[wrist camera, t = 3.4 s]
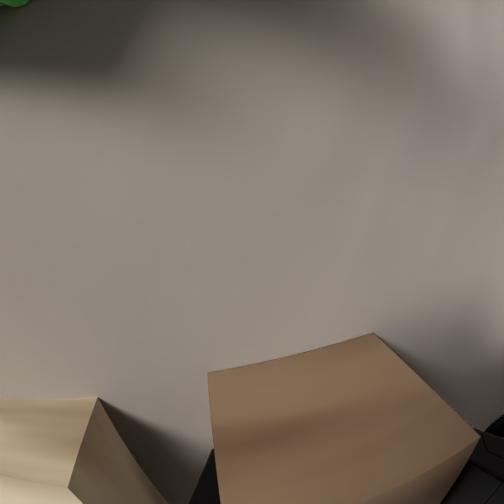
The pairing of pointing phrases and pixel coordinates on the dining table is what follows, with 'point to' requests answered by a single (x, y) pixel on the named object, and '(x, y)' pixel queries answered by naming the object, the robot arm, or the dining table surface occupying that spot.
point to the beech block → (67, 455)
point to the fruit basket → (13, 2)
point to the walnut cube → (334, 430)
